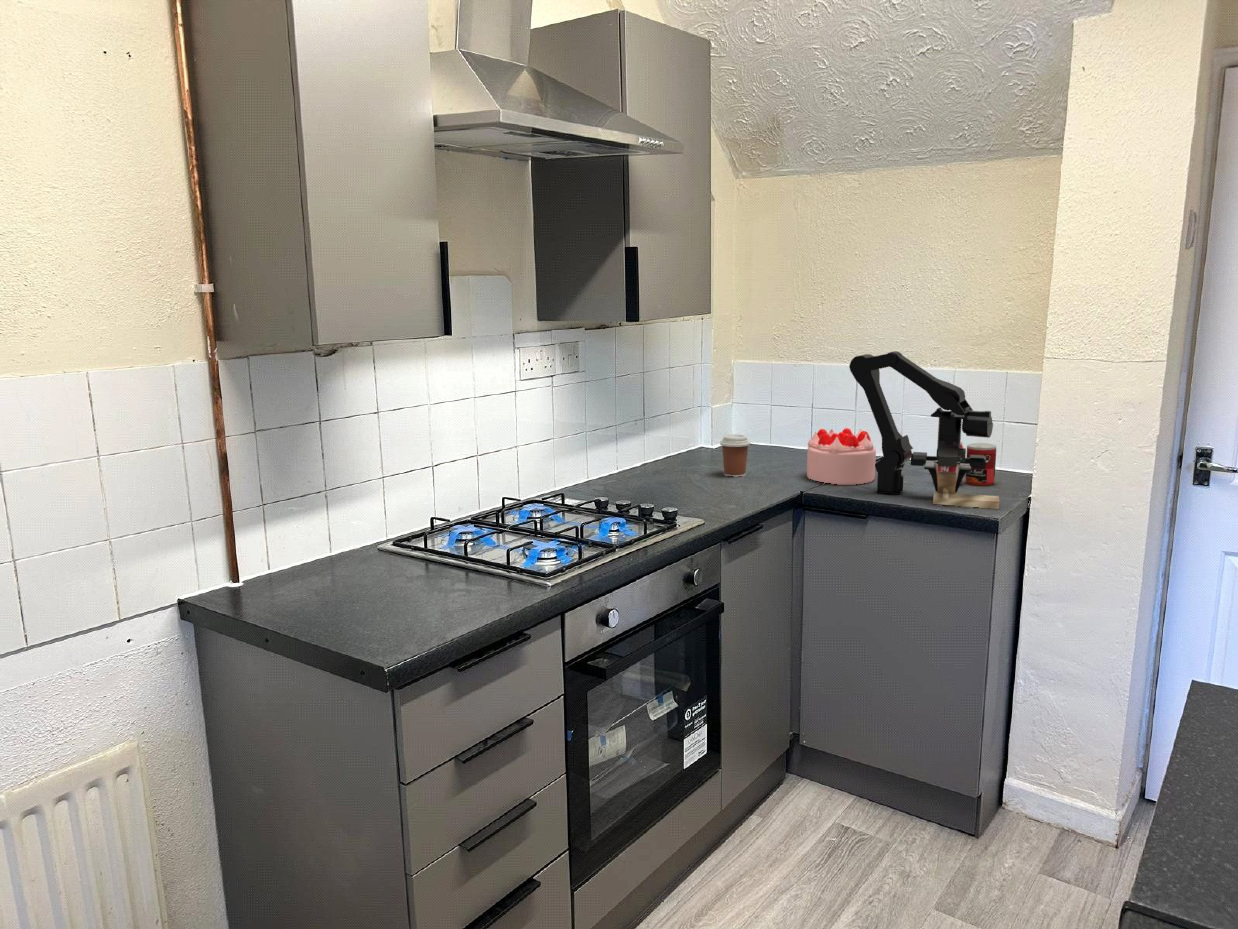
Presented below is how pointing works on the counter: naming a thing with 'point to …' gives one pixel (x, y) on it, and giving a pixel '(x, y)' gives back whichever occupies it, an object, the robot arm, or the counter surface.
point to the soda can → (949, 469)
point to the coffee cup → (735, 454)
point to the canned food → (986, 475)
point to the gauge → (946, 483)
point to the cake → (841, 457)
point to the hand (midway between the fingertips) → (946, 492)
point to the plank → (967, 500)
